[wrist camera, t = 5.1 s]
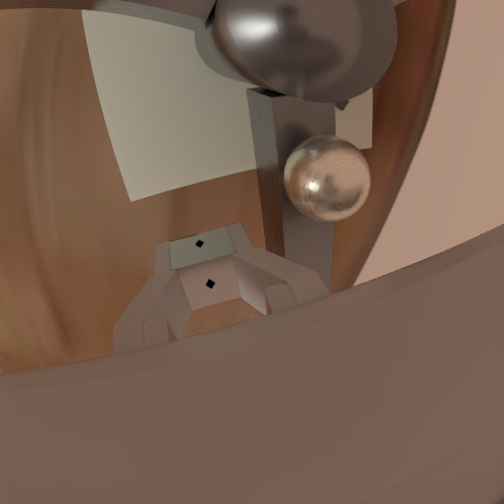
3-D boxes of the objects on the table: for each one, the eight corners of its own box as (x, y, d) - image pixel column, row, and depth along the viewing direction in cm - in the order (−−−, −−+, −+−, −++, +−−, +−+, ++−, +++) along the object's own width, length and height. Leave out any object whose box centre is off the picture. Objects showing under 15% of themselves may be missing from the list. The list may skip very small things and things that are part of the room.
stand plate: (83, -39, 6) (74, -50, 4) (338, -60, 7) (357, -68, 6) (133, 188, 13) (130, 203, 12) (355, 139, 15) (373, 149, 14)
